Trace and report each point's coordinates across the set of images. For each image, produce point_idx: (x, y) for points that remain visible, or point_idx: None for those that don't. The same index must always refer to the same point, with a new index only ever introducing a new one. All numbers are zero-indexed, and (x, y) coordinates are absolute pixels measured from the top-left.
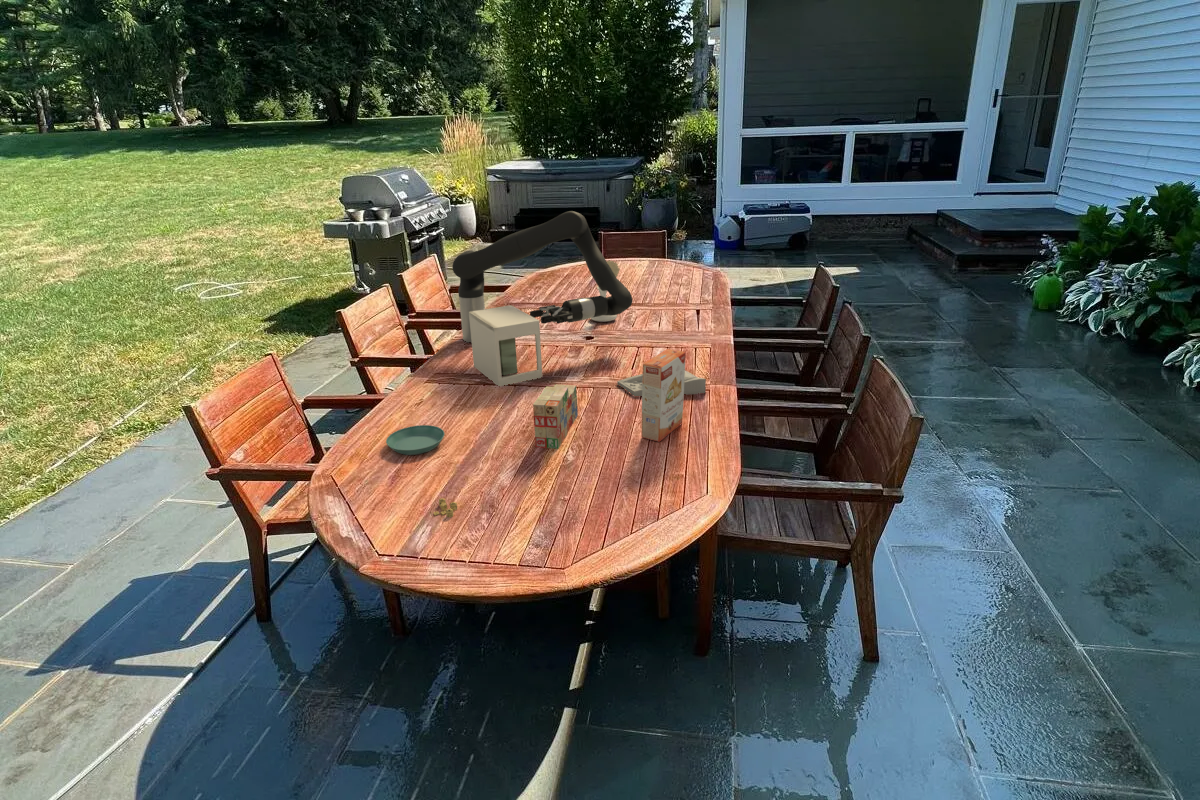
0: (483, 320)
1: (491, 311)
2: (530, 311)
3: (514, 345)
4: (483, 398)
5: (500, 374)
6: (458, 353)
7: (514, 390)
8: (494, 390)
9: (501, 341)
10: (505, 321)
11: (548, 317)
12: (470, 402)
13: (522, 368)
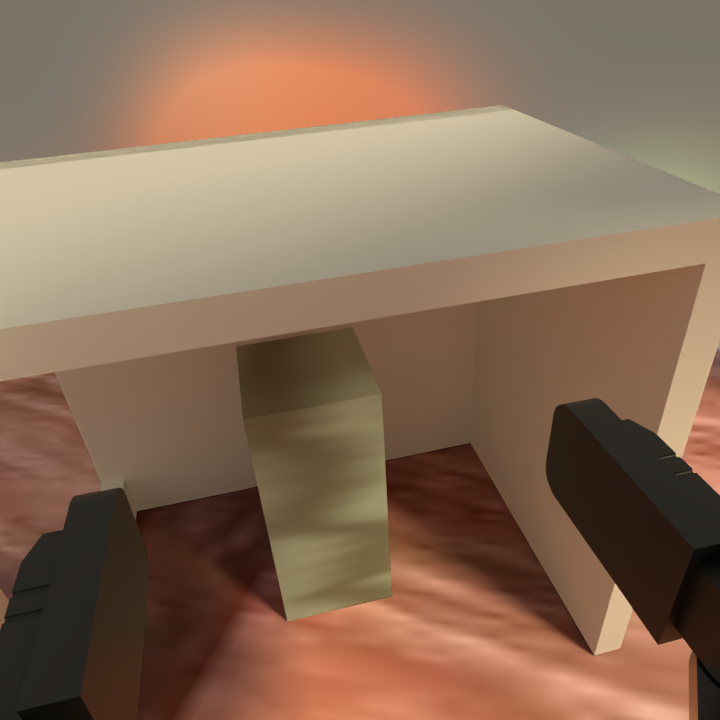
0: (226, 138)
1: (479, 148)
2: (595, 399)
3: (254, 463)
4: (33, 439)
5: (94, 460)
6: (708, 383)
7: (4, 563)
8: (87, 480)
9: (237, 355)
10: (82, 191)
11: (33, 633)
12: (35, 402)
13: (361, 669)
